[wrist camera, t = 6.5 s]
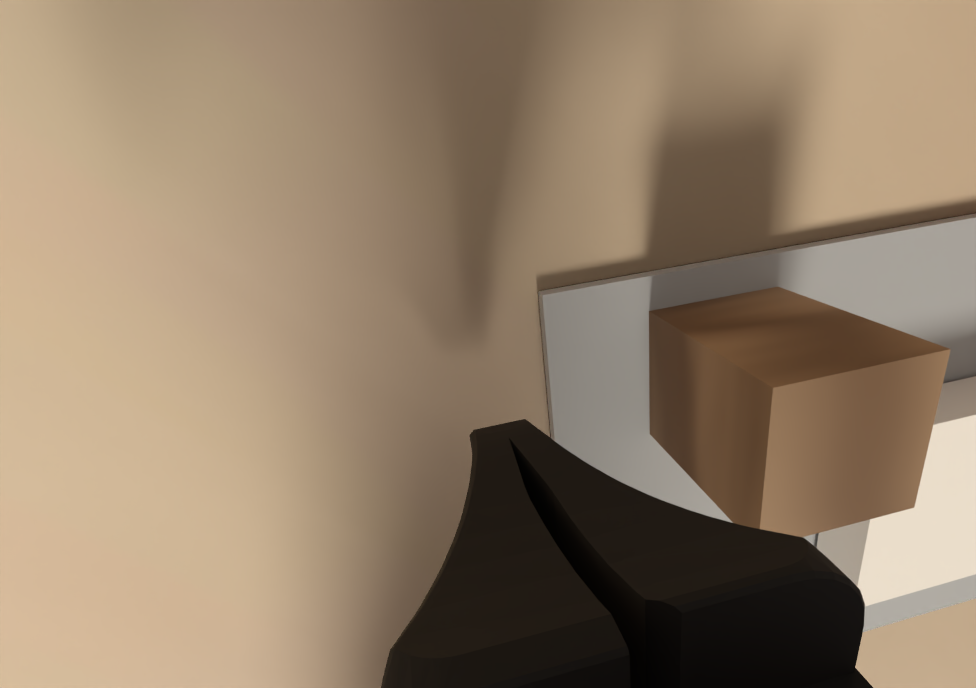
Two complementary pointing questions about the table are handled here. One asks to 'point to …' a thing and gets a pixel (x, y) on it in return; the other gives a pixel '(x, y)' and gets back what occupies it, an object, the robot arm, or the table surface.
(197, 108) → the table surface
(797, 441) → the block
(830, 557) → the tile
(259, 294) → the table surface
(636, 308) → the mat
